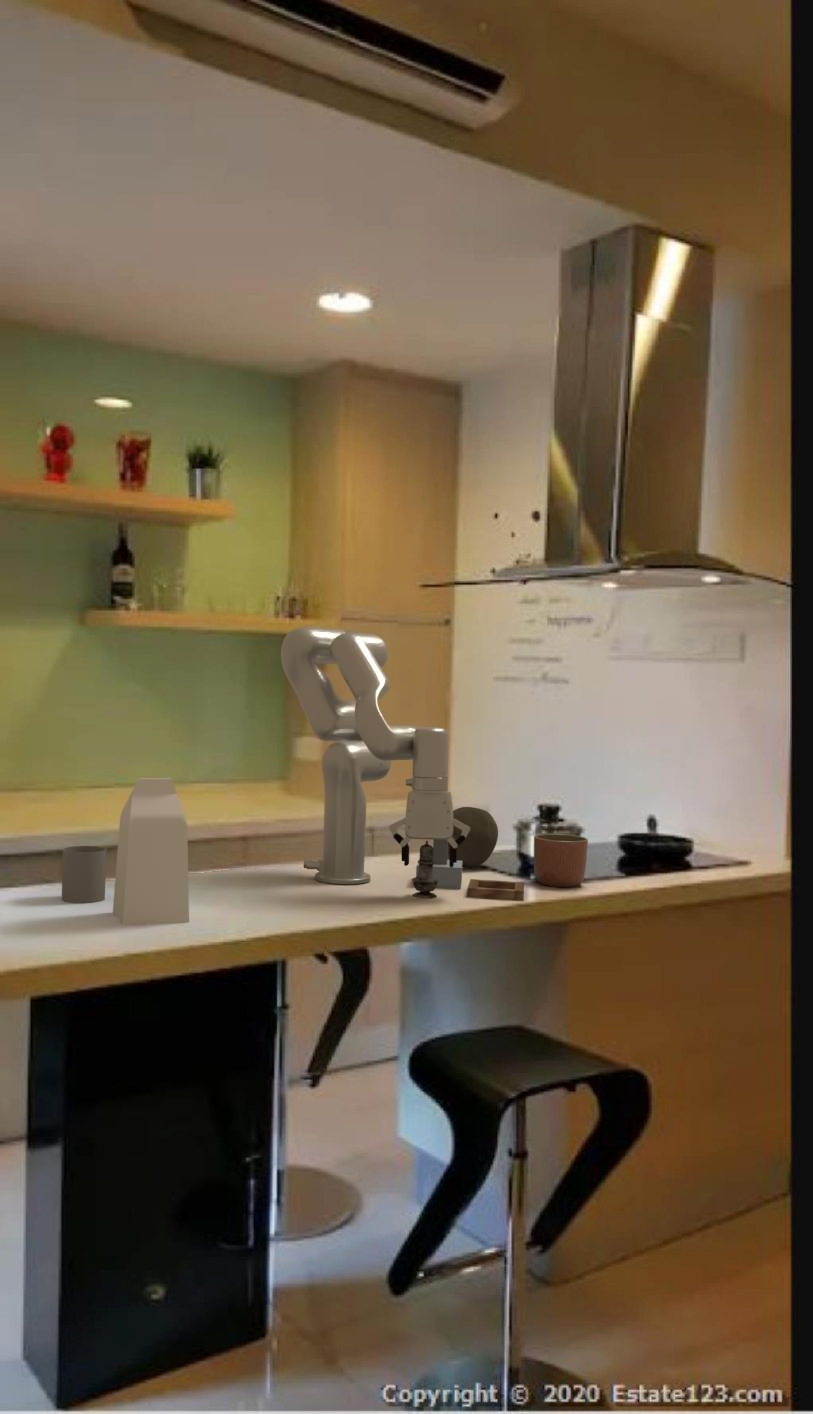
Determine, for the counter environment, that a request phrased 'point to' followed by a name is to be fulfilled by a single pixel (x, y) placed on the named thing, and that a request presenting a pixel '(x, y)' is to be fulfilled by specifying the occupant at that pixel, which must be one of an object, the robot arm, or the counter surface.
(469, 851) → the dark brown ball
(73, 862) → the cup
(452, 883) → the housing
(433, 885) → the salt shaker
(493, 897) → the socket board
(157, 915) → the milk
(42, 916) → the counter surface
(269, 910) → the counter surface
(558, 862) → the planter
